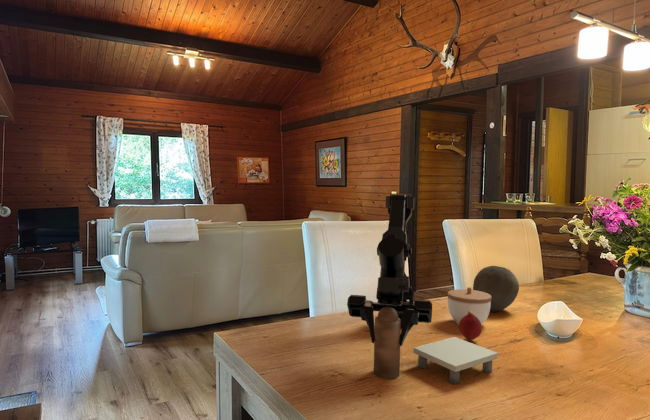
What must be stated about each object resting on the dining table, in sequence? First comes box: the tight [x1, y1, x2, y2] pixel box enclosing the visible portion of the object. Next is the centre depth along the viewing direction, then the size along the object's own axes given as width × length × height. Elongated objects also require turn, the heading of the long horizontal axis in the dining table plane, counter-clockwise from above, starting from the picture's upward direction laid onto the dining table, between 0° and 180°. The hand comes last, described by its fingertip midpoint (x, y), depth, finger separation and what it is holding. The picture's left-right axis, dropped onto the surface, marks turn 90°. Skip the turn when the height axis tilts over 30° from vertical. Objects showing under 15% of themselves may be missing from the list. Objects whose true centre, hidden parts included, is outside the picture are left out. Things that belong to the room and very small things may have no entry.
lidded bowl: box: [447, 286, 491, 326], centre depth 128 cm, size 13×13×11 cm
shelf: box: [412, 336, 499, 385], centre depth 96 cm, size 12×14×4 cm
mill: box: [373, 307, 402, 380], centre depth 92 cm, size 6×6×15 cm
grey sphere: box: [472, 265, 520, 312], centre depth 143 cm, size 14×14×15 cm
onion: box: [458, 311, 483, 342], centre depth 114 cm, size 6×6×8 cm
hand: (386, 343), depth 91 cm, fingers closed on mill, 6 cm apart
